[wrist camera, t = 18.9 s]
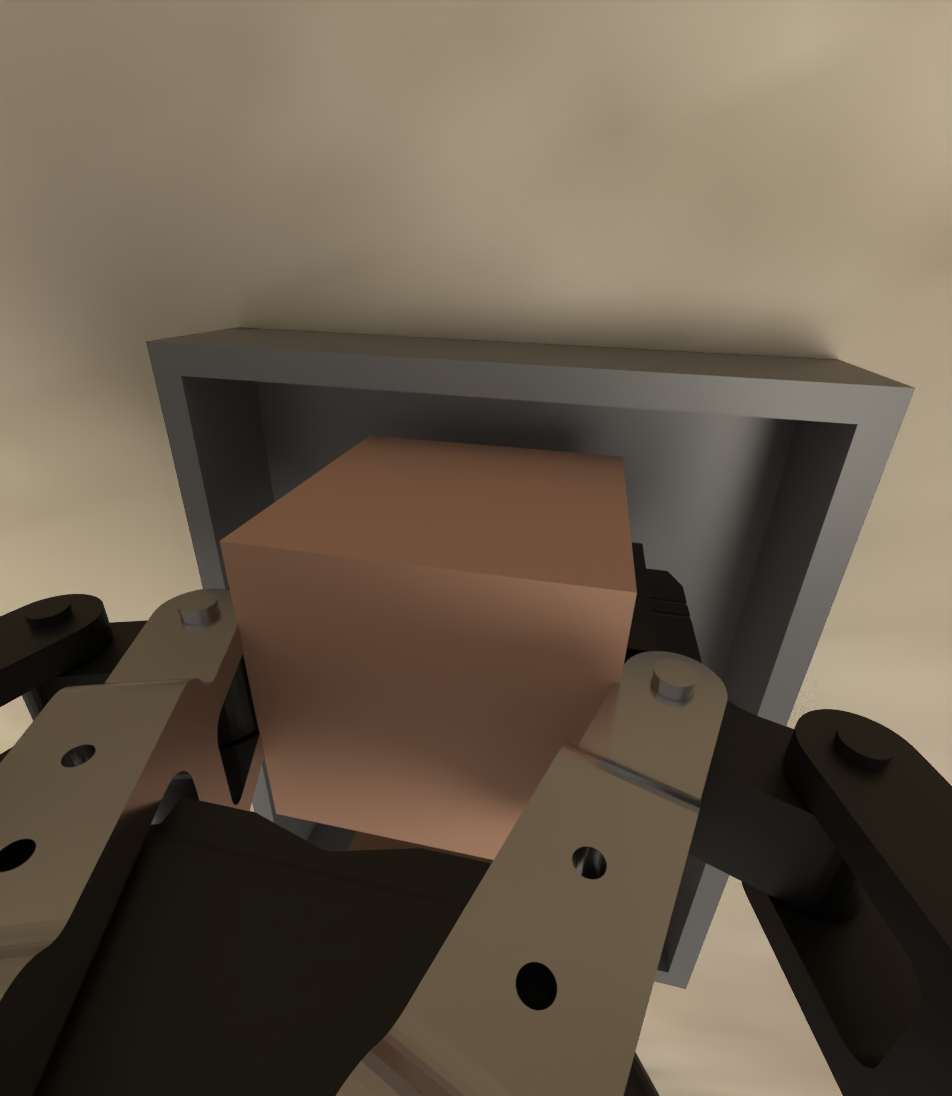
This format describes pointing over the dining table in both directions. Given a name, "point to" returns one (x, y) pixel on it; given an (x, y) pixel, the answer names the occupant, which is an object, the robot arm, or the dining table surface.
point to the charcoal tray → (581, 427)
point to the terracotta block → (432, 632)
